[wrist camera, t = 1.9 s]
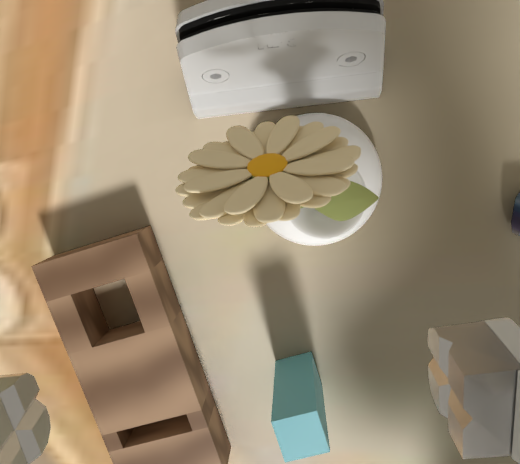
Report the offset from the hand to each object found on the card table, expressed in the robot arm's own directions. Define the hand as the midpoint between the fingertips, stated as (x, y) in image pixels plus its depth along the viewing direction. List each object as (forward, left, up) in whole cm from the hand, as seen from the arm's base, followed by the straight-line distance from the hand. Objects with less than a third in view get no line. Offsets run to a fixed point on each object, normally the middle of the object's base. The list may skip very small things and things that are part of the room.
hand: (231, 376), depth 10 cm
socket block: (-11, +17, -33) cm, 39 cm away
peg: (-17, +3, -33) cm, 38 cm away
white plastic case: (+11, -4, -33) cm, 35 cm away
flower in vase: (+1, -3, -33) cm, 33 cm away
